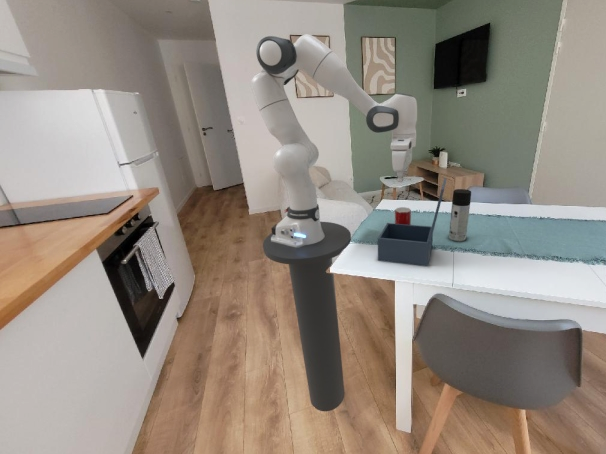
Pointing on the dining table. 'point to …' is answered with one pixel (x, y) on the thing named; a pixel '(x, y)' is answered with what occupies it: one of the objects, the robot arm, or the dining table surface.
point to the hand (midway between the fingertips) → (402, 178)
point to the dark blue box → (405, 244)
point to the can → (403, 216)
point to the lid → (437, 209)
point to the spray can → (459, 214)
